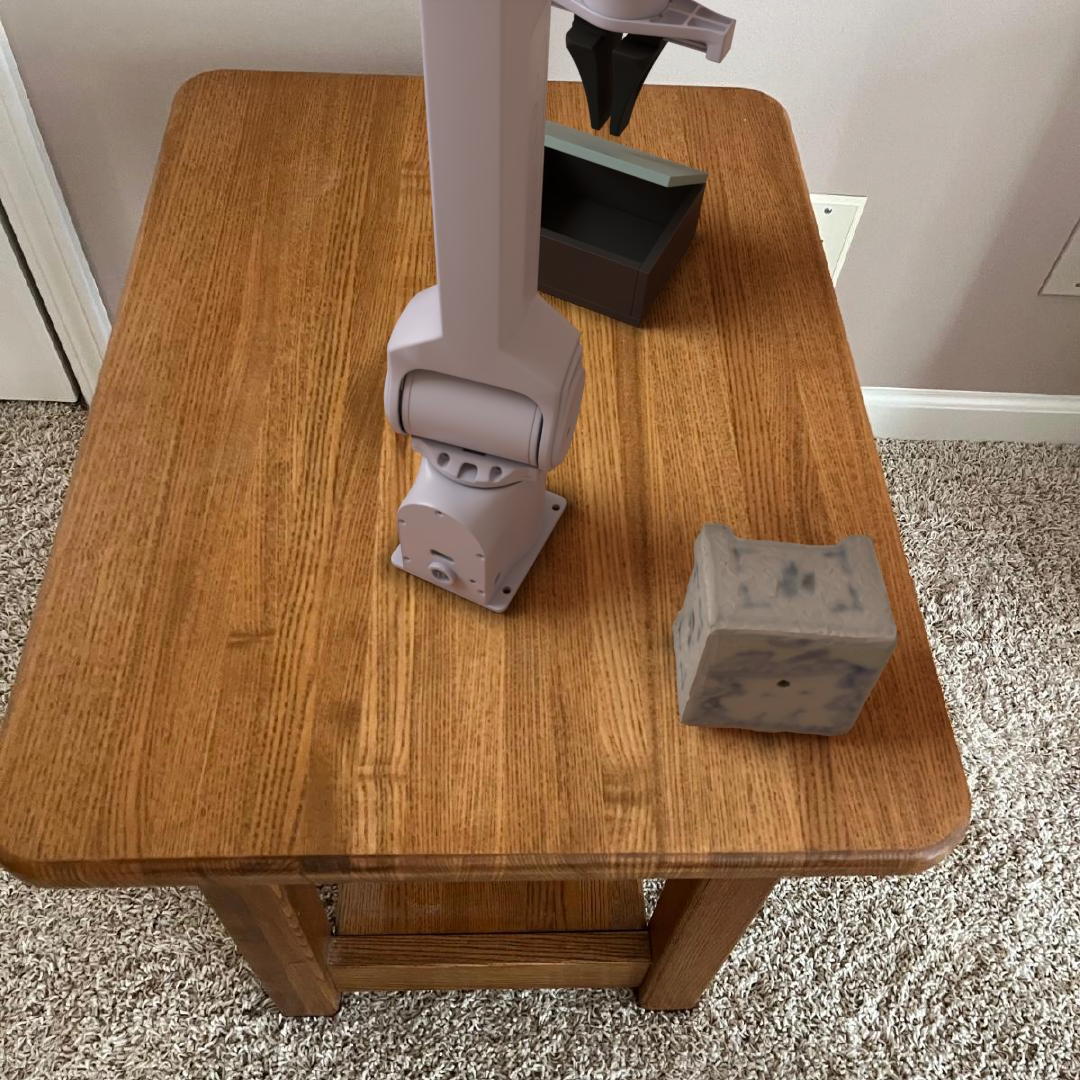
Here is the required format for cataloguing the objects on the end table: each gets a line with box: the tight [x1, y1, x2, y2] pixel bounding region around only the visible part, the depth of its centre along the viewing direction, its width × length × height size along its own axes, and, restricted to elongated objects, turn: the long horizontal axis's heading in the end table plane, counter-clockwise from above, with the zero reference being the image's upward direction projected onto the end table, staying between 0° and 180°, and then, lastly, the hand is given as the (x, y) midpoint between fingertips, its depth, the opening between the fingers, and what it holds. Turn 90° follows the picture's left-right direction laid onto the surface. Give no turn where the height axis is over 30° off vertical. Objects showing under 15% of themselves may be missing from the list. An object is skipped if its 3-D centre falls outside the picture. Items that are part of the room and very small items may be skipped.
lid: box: [544, 119, 710, 187], centre depth 71 cm, size 12×14×1 cm
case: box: [537, 146, 707, 329], centre depth 76 cm, size 12×14×5 cm
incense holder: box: [671, 522, 899, 737], centre depth 54 cm, size 10×8×10 cm
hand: (610, 125), depth 70 cm, fingers closed
